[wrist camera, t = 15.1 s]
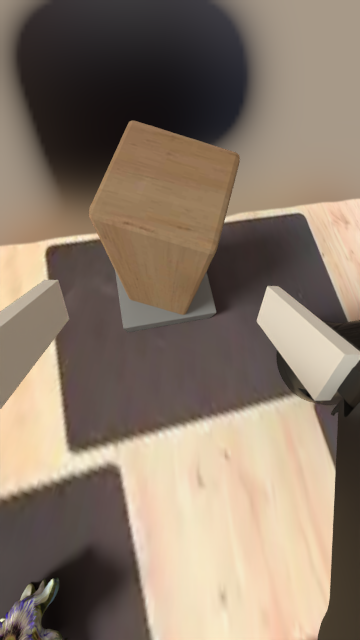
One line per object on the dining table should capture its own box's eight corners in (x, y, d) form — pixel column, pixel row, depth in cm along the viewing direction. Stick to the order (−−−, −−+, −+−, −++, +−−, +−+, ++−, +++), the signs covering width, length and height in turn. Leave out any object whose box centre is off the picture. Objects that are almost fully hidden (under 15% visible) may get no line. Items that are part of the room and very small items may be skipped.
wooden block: (146, 249, 36) (128, 115, 17) (199, 265, 36) (242, 151, 17) (128, 300, 34) (84, 212, 14) (185, 316, 34) (217, 252, 15)
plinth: (196, 257, 41) (200, 246, 37) (210, 317, 39) (216, 312, 35) (118, 268, 39) (113, 257, 35) (127, 332, 36) (123, 328, 33)
